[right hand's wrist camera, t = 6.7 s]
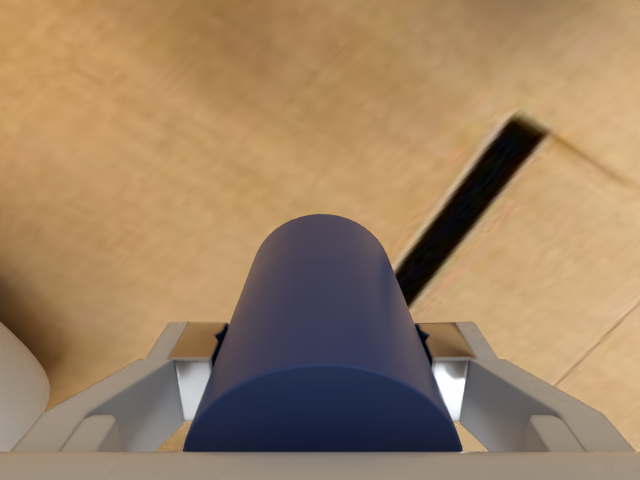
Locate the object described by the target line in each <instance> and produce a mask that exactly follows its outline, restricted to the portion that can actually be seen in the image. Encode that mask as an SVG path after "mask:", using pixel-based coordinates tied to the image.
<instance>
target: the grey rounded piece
mask: <svg viewBox="0 0 640 480" xmlns="http://www.w3.org/2000/svg"><path fill="white" fill-rule="evenodd" d="M49 397H50V384H49V380H48V377H47V375H46V373H45V371H44V369H43V367H42V366H41V364H40V363H39V361H38V360H37V359H36V358H35V356H34V355H33V354H32V353H31V352H30V351H29V349H28V348H27V347H26V346H25V345H24V344H23V343H22V342H21V341H20V340H19V339H18V338H17V337H16V336H15V335H14V334H13V333H12V332H11V331H10V330H9V329H8V328H7V327H6V326H5V325H3V324H2V323H1V322H0V452H9V451H10V450H11V449H12V448H13V447H14V446H15V445H16V444H17V442H18V441H19V440H20V439H21V438H22V437H23V435H24V434H25V433H26V432H27V431H28V430H29V428H30V427H31V426H32V425H33V424H34V423H35V421H36V420H37V419H38V418H39V417H40V416H41V414H42V413H44V411H45V409H46V407H47V404H48V401H49Z"/></svg>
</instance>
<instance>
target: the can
mask: <svg viewBox="0 0 640 480" xmlns="http://www.w3.org/2000/svg"><path fill="white" fill-rule="evenodd" d="M183 452H463V450H462V445H461V442H460V439H459V436H458V433H457V431H456V428H455V426H454V423H453V421H452V418H451V415H450V413H449V410H448V408H447V405H446V403H445V400H444V398H443V395H442V393H441V390H440V388H439V385H438V383H437V380H436V378H435V375H434V373H433V370H432V368H431V365H430V362H429V360H428V357H427V355H426V352H425V350H424V347H423V345H422V342H421V340H420V337H419V335H418V332H417V330H416V327H415V325H414V322H413V320H412V317H411V315H410V312H409V309H408V307H407V304H406V302H405V299H404V297H403V294H402V292H401V289H400V287H399V284H398V282H397V279H396V277H395V274H394V272H393V269H392V267H391V264H390V262H389V259H388V257H387V254H386V252H385V250H384V248H383V246H382V245H381V244H380V242H379V241H378V239H377V238H376V237H375V236H374V235H373V234H372V233H371V232H370V231H368V230H367V229H366V228H365V227H363V226H361V225H360V224H358V223H356V222H354V221H352V220H350V219H347V218H344V217H340V216H335V215H329V214H315V215H307V216H303V217H299V218H296V219H293V220H291V221H289V222H287V223H285V224H283V225H281V226H280V227H279V228H277V229H276V230H274V231H273V232H272V233H271V234H270V235H269V236H268V237H267V238H266V239H265V241H264V242H263V243H262V245H261V246H260V248H259V250H258V252H257V254H256V256H255V259H254V261H253V264H252V267H251V269H250V272H249V274H248V277H247V280H246V282H245V285H244V288H243V290H242V293H241V295H240V298H239V301H238V303H237V306H236V308H235V311H234V314H233V316H232V319H231V322H230V324H229V327H228V329H227V332H226V335H225V337H224V340H223V343H222V345H221V348H220V350H219V353H218V356H217V358H216V361H215V364H214V366H213V369H212V371H211V374H210V377H209V379H208V382H207V385H206V387H205V390H204V392H203V395H202V398H201V400H200V403H199V406H198V408H197V411H196V413H195V416H194V419H193V421H192V424H191V426H190V429H189V432H188V434H187V437H186V440H185V443H184V448H183Z"/></svg>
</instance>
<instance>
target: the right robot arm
mask: <svg viewBox="0 0 640 480" xmlns="http://www.w3.org/2000/svg"><path fill="white" fill-rule="evenodd" d="M228 327H229V324H228V323H219V322H171V323H169V324H168V325H167V326H166V328H165V329H164V331H163V332H162V334H161V335H160V337H159V338H158V340H157V341H156V343H155V345H154V346H153V348H152V349H151V351H150V352H149V354H148V355H147V357H146V358H145V359H139V360H137V361H135V362H133V363H132V364H130V365H128V366H126V367H124V368H123V369H121V370H119V371H117V372H116V373H114V374H112V375H110V376H108V377H107V378H105V379H103V380H101V381H99V382H98V383H96V384H94V385H92V386H90V387H89V388H87V389H85V390H83V391H81V392H80V393H78V394H76V395H74V396H73V397H71V398H69V399H67V400H65V401H64V402H62V403H60V404H58V405H56V406H55V407H53V408H51V409H49V410H47V411H46V412H44V413H42V414H41V416H40V417H39V418H38V419H37V420H36V421H35V423H34V424H33V425H32V426H31V427H30V428H29V430H28V431H27V432H26V433H25V434H24V435H23V437H22V438H21V439H20V440H19V441H18V442H17V444H16V445H15V446H14V447H13V448H12V449H11V451H10V452H0V480H640V452H636V451H635V450H634V449H633V448H632V446H631V445H630V444H629V443H628V442H627V441H626V440H625V438H624V437H623V436H622V435H621V434H620V433H619V431H618V430H617V429H616V428H615V427H614V426H613V425H612V423H611V422H610V421H609V420H608V419H607V418H606V416H605V415H604V414H603V413H601V412H599V411H597V410H595V409H594V408H592V407H590V406H588V405H586V404H584V403H583V402H581V401H579V400H577V399H575V398H574V397H572V396H570V395H568V394H566V393H565V392H563V391H561V390H559V389H557V388H556V387H554V386H552V385H550V384H548V383H547V382H545V381H543V380H541V379H539V378H538V377H536V376H534V375H532V374H530V373H529V372H527V371H525V370H523V369H521V368H520V367H518V366H516V365H514V364H512V363H511V362H509V361H507V360H505V359H499V358H498V357H497V355H496V354H495V353H494V351H493V350H492V348H491V347H490V345H489V344H488V342H487V341H486V339H485V338H484V336H483V335H482V333H481V332H480V330H479V329H478V327H477V326H476V324H475V323H473V322H448V323H415V327H416V330H417V332H418V335H419V337H420V340H421V342H422V345H423V347H424V350H425V352H426V355H427V357H428V360H429V362H430V365H431V368H432V370H433V373H434V375H435V378H436V380H437V383H438V385H439V388H440V390H441V393H442V395H443V398H444V400H445V403H446V405H447V408H448V410H449V413H450V415H451V418H452V421H456V422H460V424H461V425H462V426H463V427H464V428H466V429H467V430H468V431H469V432H470V433H471V434H472V435H473V436H474V437H475V438H476V439H477V440H478V441H479V442H480V443H481V444H482V445H483V446H484V447H485V448H487V449H488V450H489V451H490V452H155V451H156V450H157V449H158V448H159V447H160V446H161V445H162V444H163V443H164V442H165V441H166V440H167V439H168V438H169V437H170V436H171V435H172V434H173V433H174V432H175V431H176V430H177V429H178V428H180V427H181V426H182V425H183V424H184V423H183V422H187V421H193V419H194V416H195V413H196V411H197V408H198V406H199V403H200V400H201V398H202V395H203V392H204V390H205V387H206V385H207V382H208V379H209V377H210V374H211V371H212V369H213V366H214V364H215V361H216V358H217V356H218V353H219V350H220V348H221V345H222V343H223V340H224V337H225V335H226V332H227V329H228Z"/></svg>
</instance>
